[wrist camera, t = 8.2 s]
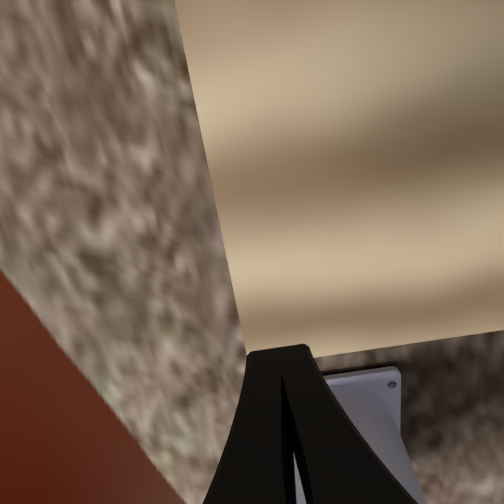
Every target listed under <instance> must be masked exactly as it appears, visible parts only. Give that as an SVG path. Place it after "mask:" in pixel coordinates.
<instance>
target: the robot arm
mask: <svg viewBox="0 0 504 504" xmlns="http://www.w3.org/2000/svg"><path fill="white" fill-rule="evenodd" d="M391 381H393V382H391ZM389 382H391V383H389ZM400 419H401V374H400V371H399V369H398V368H397V367H394V366H389V367H382V368H375V369H368V370H362V371H355V372H348V373H341V374H334V375H327V376H323V375H322V373H321V372H320V370H319V368H318V366H317V364H316V362H315V360H314V357H313V355H312V353H311V350H310V347H309V346H307V345H306V344H304V343H303V344H297V345H290V346H283V347H277V348H270V349H263V350H257V351H251V352H250V353H249V354H248V355H247V358H246V368H245V375H244V380H243V385H242V390H241V394H240V398H239V402H238V406H237V409H236V413H235V416H234V420H233V423H232V426H231V430H230V433H229V436H228V439H227V442H226V445H225V448H224V450H223V453H222V456H221V459H220V462H219V464H218V467H217V470H216V473H215V475H214V478H213V480H212V483H211V485H210V488H209V490H208V492H207V495H206V497H205V499H204V502H203V504H427V503H426V500H425V497H424V495H423V492H422V490H421V487H420V484H419V482H418V479H417V477H416V474H415V471H414V469H413V466H412V464H411V461H410V459H409V456H408V453H407V451H406V448H405V446H404V443H403V440H402V438H401V435H400Z"/></svg>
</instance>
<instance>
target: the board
mask: <svg viewBox="0 0 504 504" xmlns="http://www.w3.org/2000/svg"><path fill="white" fill-rule="evenodd" d="M174 1H175V6H176V11H177V16H178V20H179V25H180V30H181V35H182V40H183V45H184V50H185V55H186V60H187V65H188V69H189V74H190V79H191V84H192V89H193V94H194V99H195V104H196V109H197V114H198V118H199V123H200V128H201V133H202V138H203V143H204V148H205V153H206V158H207V163H208V167H209V172H210V177H211V182H212V187H213V192H214V197H215V202H216V207H217V212H218V216H219V221H220V226H221V231H222V236H223V241H224V246H225V251H226V256H227V261H228V265H229V270H230V275H231V280H232V285H233V290H234V295H235V300H236V305H237V310H238V314H239V319H240V324H241V329H242V334H243V339H244V344H245V349H246V354H247V355H248V354H249V353H250V352H251V351H257V350H263V349H270V348H277V347H283V346H290V345H297V344H303V343H304V344H306V345H307V346H309V347H310V350H311V353H312V355H313V357H314V358H315V357H321V356H328V355H335V354H342V353H349V352H356V351H363V350H369V349H376V348H383V347H390V346H397V345H404V344H411V343H417V342H424V341H431V340H438V339H445V338H452V337H459V336H465V335H472V334H479V333H486V332H493V331H500V330H504V0H174Z"/></svg>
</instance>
